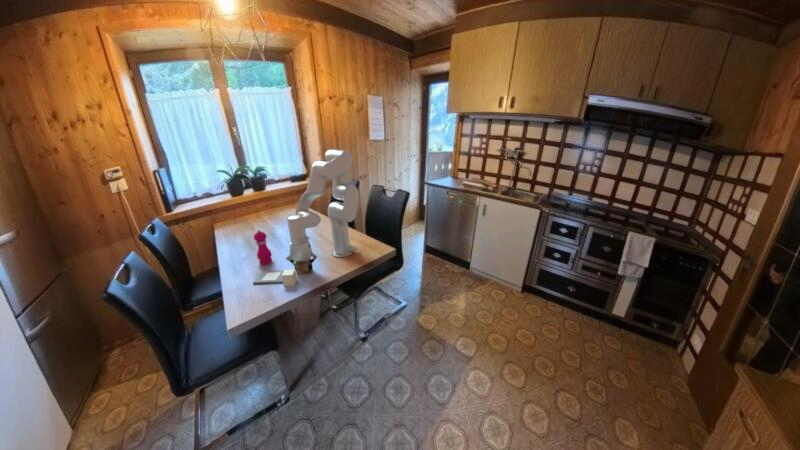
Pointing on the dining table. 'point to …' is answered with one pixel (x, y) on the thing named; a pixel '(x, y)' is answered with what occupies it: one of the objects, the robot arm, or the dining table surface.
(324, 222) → the dining table surface
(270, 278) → the pad
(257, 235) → the pepper mill
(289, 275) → the cream block
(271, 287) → the dining table surface
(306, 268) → the walnut block
